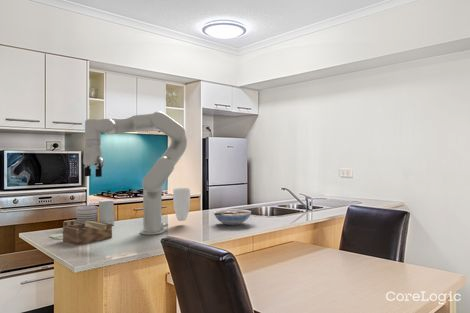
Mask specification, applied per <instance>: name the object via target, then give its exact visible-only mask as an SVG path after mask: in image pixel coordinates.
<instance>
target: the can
mask: <svg viewBox="0 0 470 313" xmlns="http://www.w3.org/2000/svg"><path fill="white" fill-rule="evenodd" d="M75 209H76V215H75V216H76V219H75V220H77V224H82V223H85V221H92V222H94V221H99V220H98V219H99V218H98V216H99V215H98V214H99V205H98V206H97V205H95V204H94V205H90V204H89V205H88V204H83V205H79V206H76V208H75Z"/></svg>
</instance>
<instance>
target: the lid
mask: <svg viewBox="0 0 470 313" xmlns="http://www.w3.org/2000/svg"><path fill="white" fill-rule="evenodd" d="M71 221H74V225H76V224H77V219H72V220H64V221H63V226H62V228H63V227H64V222H67V226H70V225H71ZM48 236H49V237H48V238H51V237H53V238H52V239H55V238H56V239H55V240H59V239H60V240H61V239H62V240H63V232H61V233H57V234H51V235H48ZM60 240H59V241H60ZM62 240H61V241H62Z"/></svg>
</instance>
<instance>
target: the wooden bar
mask: <svg viewBox="0 0 470 313" xmlns="http://www.w3.org/2000/svg"><path fill="white" fill-rule="evenodd" d="M85 227H90V228H95V229H100V230H106V224H103V223H97V222H92V221H85Z"/></svg>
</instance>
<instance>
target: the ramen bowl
mask: <svg viewBox="0 0 470 313" xmlns="http://www.w3.org/2000/svg"><path fill="white" fill-rule="evenodd" d="M212 213H213V215H214V216H215V217H214V218H215V219H216V220H217V221H219V222H220V223H222V224H225V225H226V226H238V225H240V224H243V223H244V222H246V221H247V220H248V219H249V217H251V214H252V213H253V211H251V210H247V209H240V208H239V209H236V208H232V209H218V210H215V211H213V212H212Z"/></svg>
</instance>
